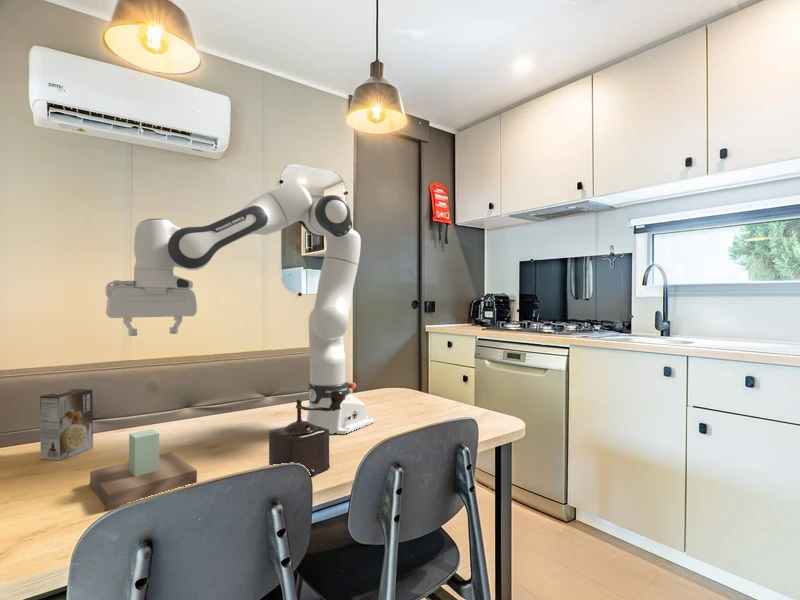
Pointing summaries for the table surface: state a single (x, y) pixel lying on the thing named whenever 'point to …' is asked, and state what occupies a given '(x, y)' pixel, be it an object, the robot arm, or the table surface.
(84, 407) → the coffee box
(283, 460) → the manual coffee grinder
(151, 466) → the sage block
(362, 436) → the table surface
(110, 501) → the walnut platform
